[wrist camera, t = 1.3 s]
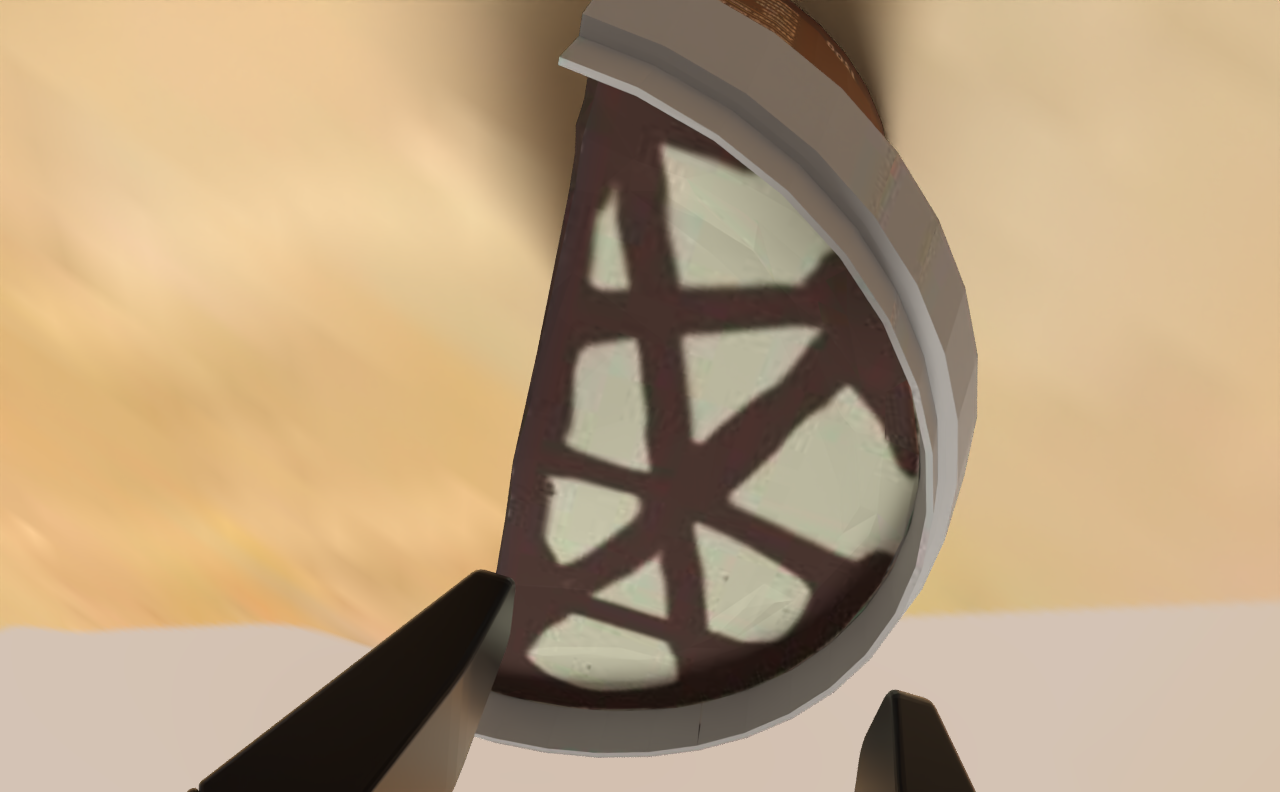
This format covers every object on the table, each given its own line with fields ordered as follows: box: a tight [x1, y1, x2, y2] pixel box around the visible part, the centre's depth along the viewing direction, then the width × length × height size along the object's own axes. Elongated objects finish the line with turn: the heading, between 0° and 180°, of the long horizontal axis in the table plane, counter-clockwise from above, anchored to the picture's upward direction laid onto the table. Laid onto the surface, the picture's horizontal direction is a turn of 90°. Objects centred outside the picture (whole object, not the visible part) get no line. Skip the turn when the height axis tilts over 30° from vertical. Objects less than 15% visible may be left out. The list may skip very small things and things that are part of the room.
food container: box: [474, 0, 978, 758], centre depth 16 cm, size 12×6×10 cm, turn 168°
